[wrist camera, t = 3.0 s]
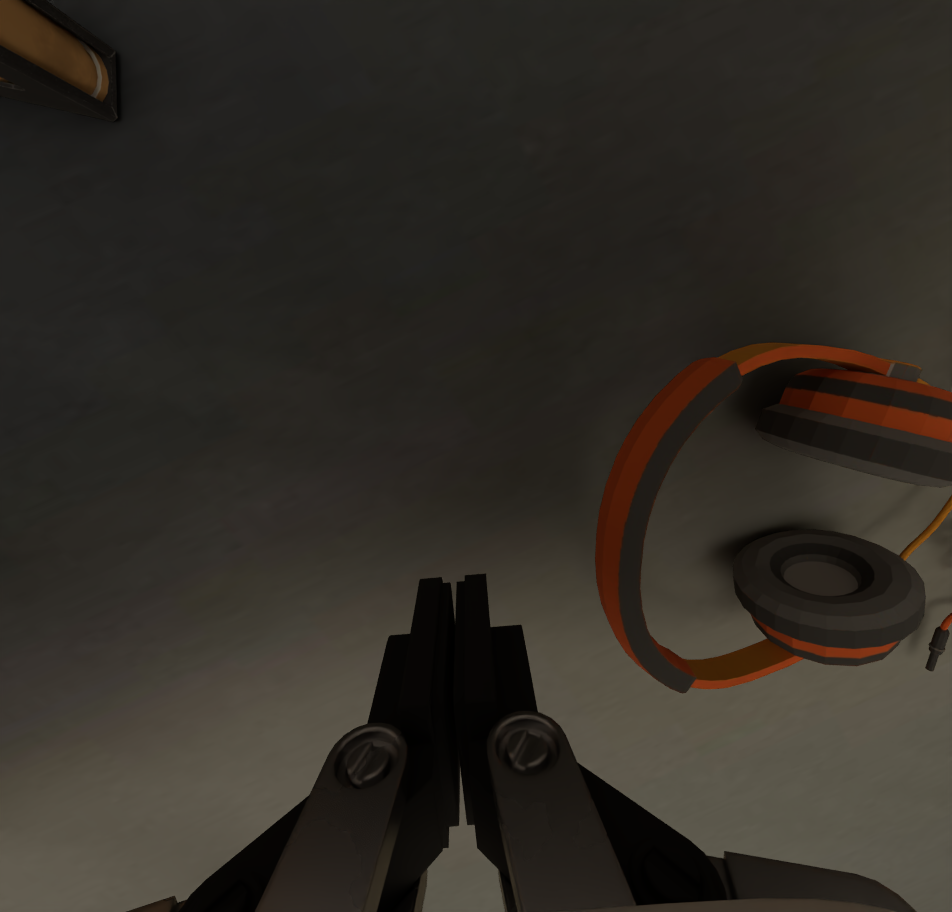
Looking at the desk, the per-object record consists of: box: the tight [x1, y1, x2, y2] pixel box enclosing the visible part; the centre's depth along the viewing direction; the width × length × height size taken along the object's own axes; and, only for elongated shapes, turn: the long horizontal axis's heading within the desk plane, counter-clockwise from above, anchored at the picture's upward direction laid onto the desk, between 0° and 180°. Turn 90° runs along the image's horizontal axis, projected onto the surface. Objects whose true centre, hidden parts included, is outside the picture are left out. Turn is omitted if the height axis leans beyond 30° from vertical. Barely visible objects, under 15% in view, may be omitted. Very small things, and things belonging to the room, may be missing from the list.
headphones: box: [595, 342, 952, 693], centre depth 16 cm, size 17×5×20 cm
